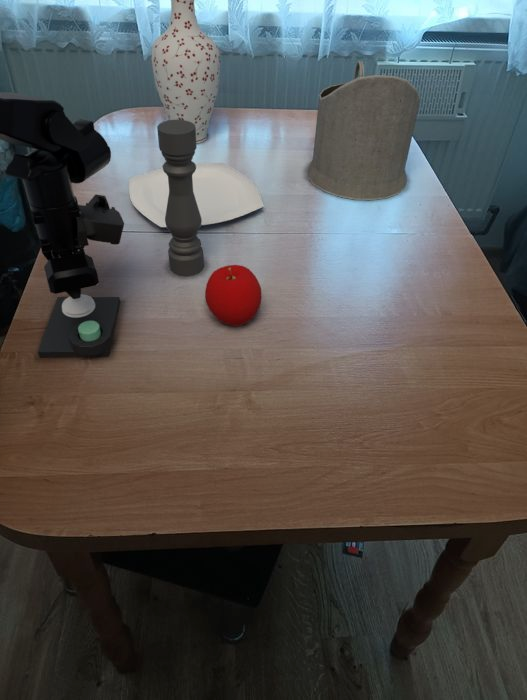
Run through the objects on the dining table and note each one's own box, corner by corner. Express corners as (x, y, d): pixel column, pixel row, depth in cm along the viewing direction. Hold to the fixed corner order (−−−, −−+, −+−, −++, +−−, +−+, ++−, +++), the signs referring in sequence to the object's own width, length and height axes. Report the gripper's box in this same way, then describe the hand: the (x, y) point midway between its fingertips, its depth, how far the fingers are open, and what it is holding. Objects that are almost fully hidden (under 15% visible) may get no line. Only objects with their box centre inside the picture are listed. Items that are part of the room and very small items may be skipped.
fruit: (198, 305, 89) (195, 254, 83) (248, 293, 92) (249, 243, 85) (217, 340, 83) (216, 288, 77) (270, 326, 86) (273, 275, 79)
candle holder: (196, 253, 101) (188, 116, 83) (209, 271, 97) (203, 131, 79) (164, 261, 98) (149, 122, 81) (176, 279, 94) (163, 137, 77)
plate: (228, 164, 129) (228, 156, 127) (279, 218, 111) (280, 209, 110) (116, 183, 120) (115, 174, 118) (152, 244, 102) (151, 235, 101)
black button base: (110, 361, 79) (107, 346, 77) (38, 362, 79) (32, 347, 77) (123, 302, 89) (120, 287, 87) (58, 302, 89) (54, 287, 87)
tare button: (99, 341, 78) (97, 333, 77) (78, 341, 78) (76, 334, 77) (102, 328, 81) (100, 320, 80) (82, 328, 80) (80, 320, 79)
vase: (221, 126, 146) (219, -31, 122) (221, 151, 134) (218, -18, 110) (161, 124, 145) (146, -34, 121) (155, 150, 133) (138, -20, 109)
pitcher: (310, 198, 118) (323, 75, 101) (302, 139, 141) (311, 31, 124) (415, 201, 118) (446, 80, 101) (390, 143, 141) (412, 35, 124)
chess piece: (101, 302, 84) (90, 247, 77) (83, 321, 80) (70, 265, 74) (74, 294, 85) (60, 239, 78) (55, 313, 81) (39, 257, 75)
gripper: (129, 222, 67) (143, 319, 77) (100, 160, 79) (116, 251, 90) (34, 238, 63) (63, 337, 74) (19, 171, 75) (46, 264, 86)
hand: (75, 294), depth 81 cm, fingers closed on chess piece
